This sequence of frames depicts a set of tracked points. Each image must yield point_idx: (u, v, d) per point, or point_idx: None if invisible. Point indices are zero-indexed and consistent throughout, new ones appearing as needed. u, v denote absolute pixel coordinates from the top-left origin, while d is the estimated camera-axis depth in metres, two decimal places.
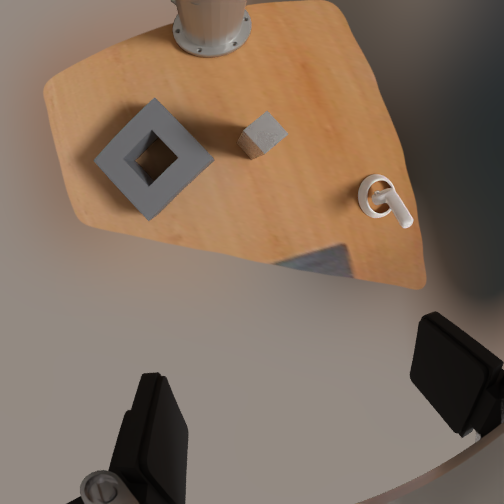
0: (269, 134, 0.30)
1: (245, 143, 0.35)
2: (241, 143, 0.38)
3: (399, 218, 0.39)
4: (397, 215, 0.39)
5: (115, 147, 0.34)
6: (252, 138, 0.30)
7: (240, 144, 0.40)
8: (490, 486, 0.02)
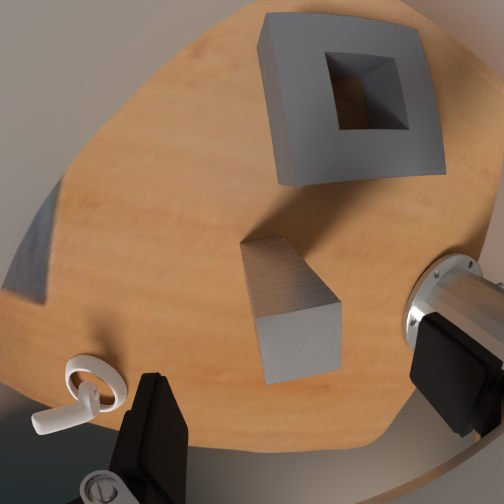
0: (293, 350, 0.12)
1: (286, 264, 0.17)
2: (283, 250, 0.20)
3: (45, 418, 0.17)
4: (51, 416, 0.18)
5: (416, 65, 0.15)
6: (310, 311, 0.11)
7: (279, 244, 0.21)
8: (490, 486, 0.02)
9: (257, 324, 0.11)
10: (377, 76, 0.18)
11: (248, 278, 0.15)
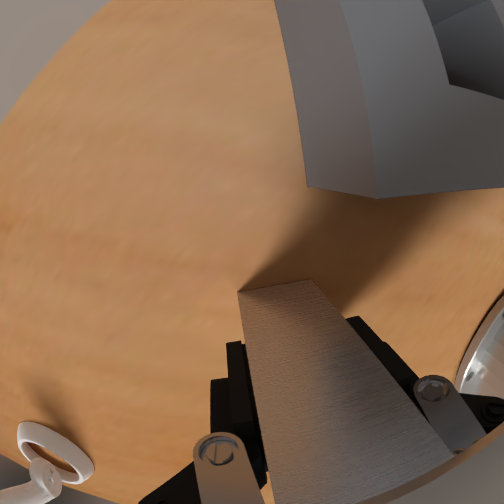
0: None
1: (349, 382, 0.06)
2: (328, 325, 0.09)
3: None
4: (2, 502, 0.07)
5: None
6: None
7: (314, 304, 0.11)
8: (490, 486, 0.02)
9: None
10: (457, 25, 0.08)
11: (267, 443, 0.05)
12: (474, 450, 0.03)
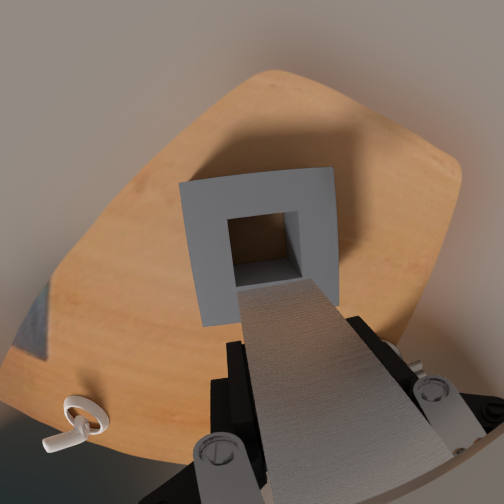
0: None
1: (348, 382, 0.06)
2: (327, 324, 0.09)
3: (52, 442, 0.24)
4: (56, 440, 0.24)
5: (322, 211, 0.23)
6: None
7: (314, 304, 0.11)
8: (490, 486, 0.02)
9: None
10: (289, 214, 0.25)
11: (266, 442, 0.05)
12: (474, 450, 0.03)
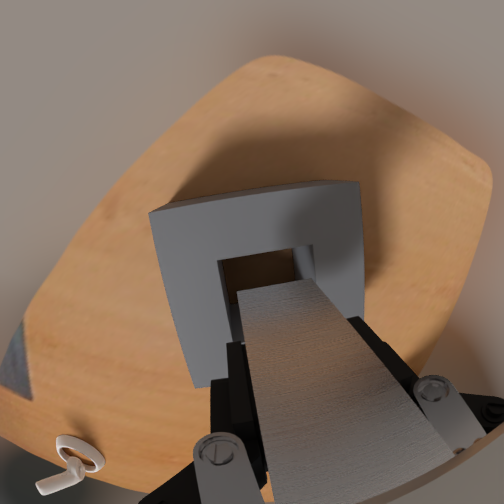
0: None
1: (349, 381, 0.06)
2: (328, 324, 0.09)
3: (46, 485, 0.18)
4: (50, 484, 0.19)
5: (345, 243, 0.17)
6: None
7: (314, 303, 0.11)
8: (490, 486, 0.02)
9: None
10: None
11: (266, 442, 0.05)
12: (474, 450, 0.03)
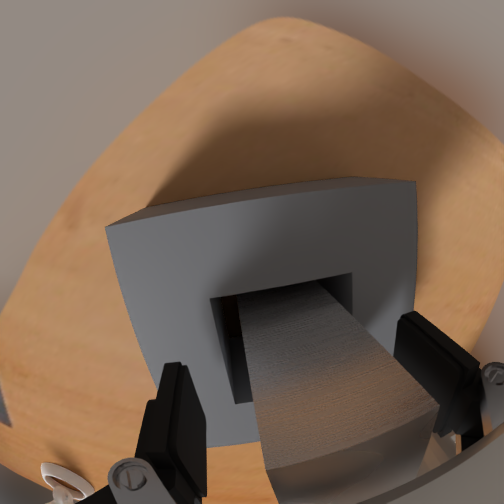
0: (340, 491, 0.04)
1: (309, 311, 0.10)
2: None
3: None
4: None
5: (394, 269, 0.11)
6: (382, 438, 0.04)
7: None
8: (490, 486, 0.02)
9: (271, 476, 0.04)
10: None
11: (247, 346, 0.08)
12: (474, 450, 0.03)
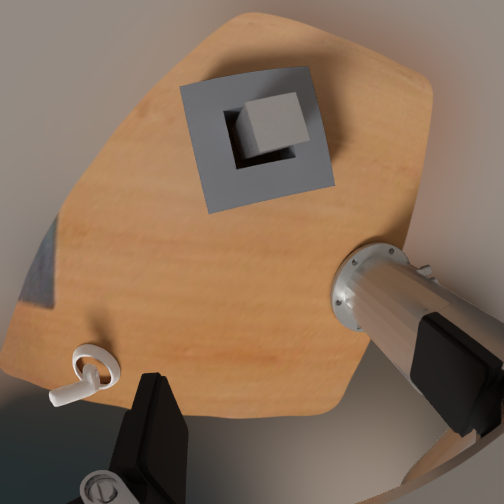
0: (272, 123, 0.17)
1: None
2: None
3: (59, 392, 0.26)
4: (63, 391, 0.26)
5: (304, 100, 0.24)
6: (277, 97, 0.17)
7: None
8: (490, 486, 0.02)
9: (246, 106, 0.17)
10: None
11: (239, 115, 0.21)
12: (474, 450, 0.03)
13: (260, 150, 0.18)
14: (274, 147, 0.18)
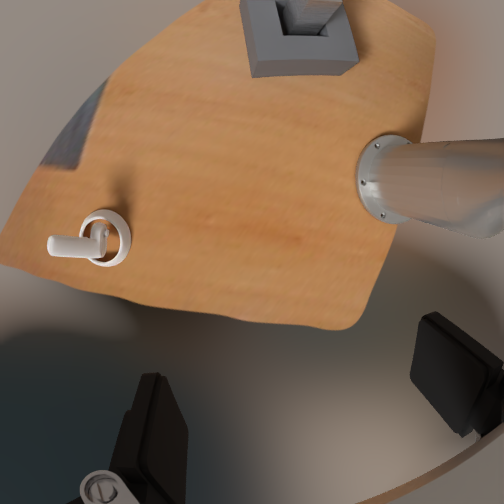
0: None
1: None
2: None
3: (61, 237, 0.26)
4: (66, 237, 0.26)
5: None
6: None
7: None
8: (490, 486, 0.02)
9: None
10: None
11: None
12: (474, 450, 0.03)
13: None
14: None
